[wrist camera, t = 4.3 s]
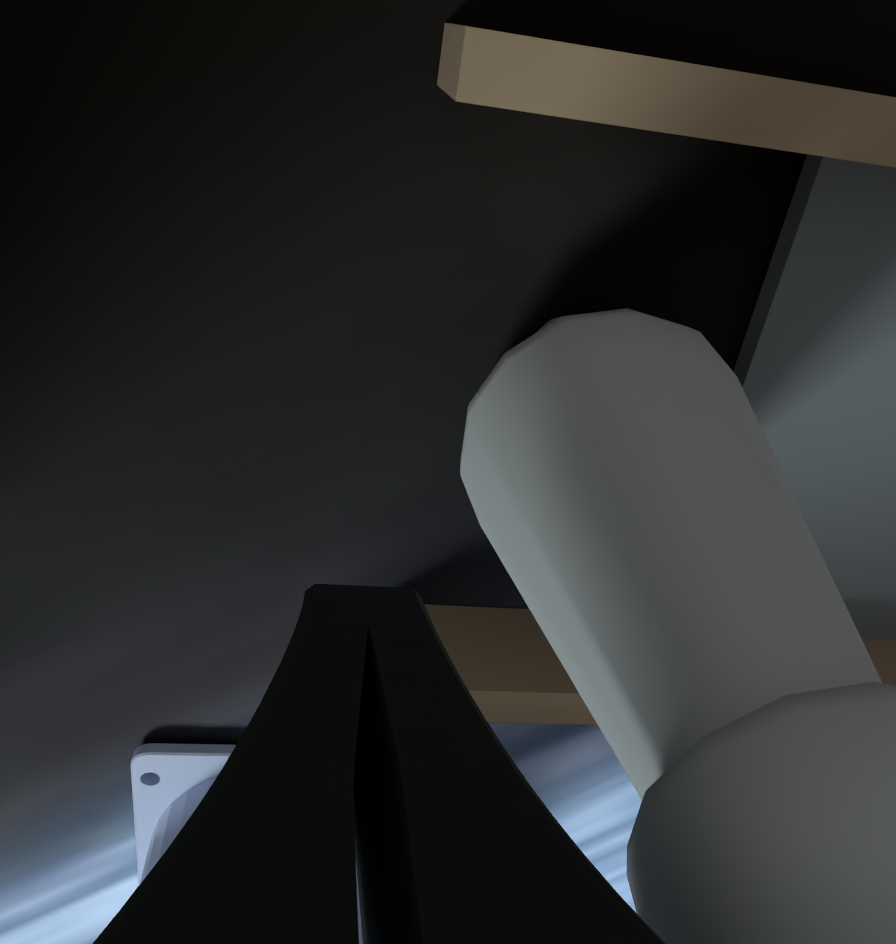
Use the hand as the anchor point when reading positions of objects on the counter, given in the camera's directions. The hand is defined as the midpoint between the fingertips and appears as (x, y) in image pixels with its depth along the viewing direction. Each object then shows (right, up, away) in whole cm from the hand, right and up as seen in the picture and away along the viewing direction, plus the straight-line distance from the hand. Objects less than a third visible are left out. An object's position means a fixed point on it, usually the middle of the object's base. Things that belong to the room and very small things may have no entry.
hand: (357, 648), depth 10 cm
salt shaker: (+4, +4, +8) cm, 10 cm away
